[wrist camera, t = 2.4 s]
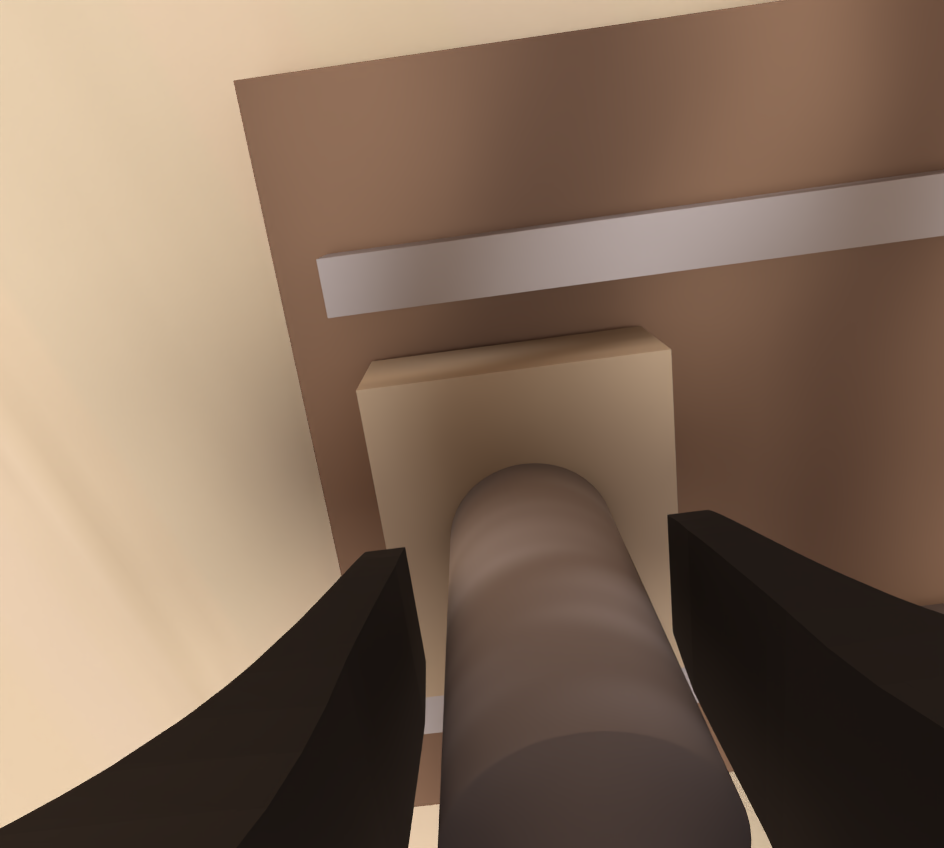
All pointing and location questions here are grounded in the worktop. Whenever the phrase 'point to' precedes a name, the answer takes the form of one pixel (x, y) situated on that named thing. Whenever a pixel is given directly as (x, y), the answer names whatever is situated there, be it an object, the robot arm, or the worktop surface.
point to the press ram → (549, 591)
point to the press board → (645, 254)
